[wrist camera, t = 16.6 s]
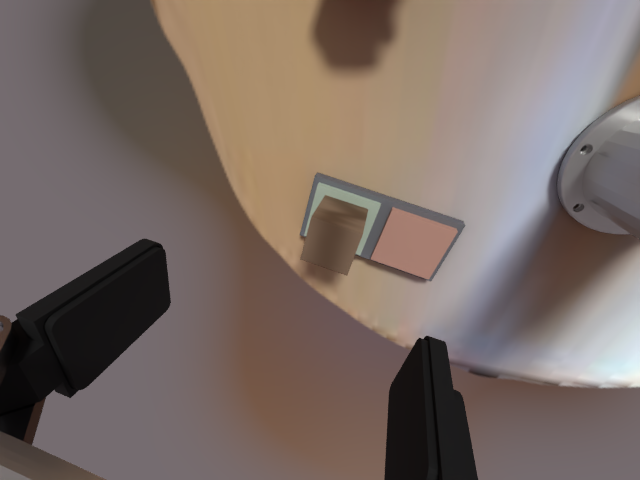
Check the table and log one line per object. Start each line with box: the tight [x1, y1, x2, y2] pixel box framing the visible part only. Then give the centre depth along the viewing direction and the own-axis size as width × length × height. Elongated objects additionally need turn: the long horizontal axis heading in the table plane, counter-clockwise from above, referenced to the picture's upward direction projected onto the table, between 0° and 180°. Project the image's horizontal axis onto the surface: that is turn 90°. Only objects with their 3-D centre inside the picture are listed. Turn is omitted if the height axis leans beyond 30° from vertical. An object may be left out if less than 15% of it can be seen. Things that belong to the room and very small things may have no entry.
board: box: [300, 173, 465, 281], centre depth 33 cm, size 17×8×2 cm, turn 75°
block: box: [301, 195, 368, 275], centre depth 30 cm, size 5×5×6 cm
